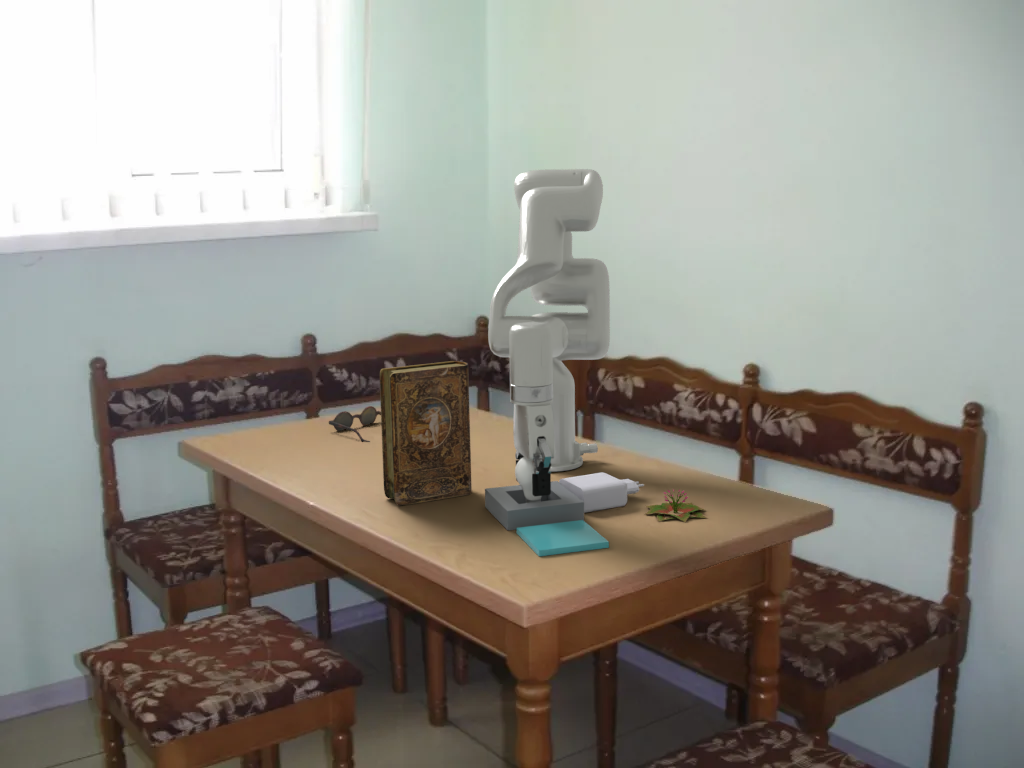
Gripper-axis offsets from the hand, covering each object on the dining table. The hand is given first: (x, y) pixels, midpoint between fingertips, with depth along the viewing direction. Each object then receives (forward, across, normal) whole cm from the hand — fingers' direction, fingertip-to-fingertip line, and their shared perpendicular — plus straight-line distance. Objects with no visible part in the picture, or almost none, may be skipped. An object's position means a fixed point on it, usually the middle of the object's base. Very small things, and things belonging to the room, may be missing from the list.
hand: (533, 487), depth 202 cm
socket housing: (+5, 0, 0) cm, 5 cm away
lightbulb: (+5, 0, 0) cm, 5 cm away
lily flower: (+6, -8, -24) cm, 26 cm away
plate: (+5, -15, 0) cm, 16 cm away
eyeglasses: (+5, +72, +16) cm, 74 cm away
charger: (+5, +3, -15) cm, 16 cm away
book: (+5, +17, +15) cm, 23 cm away
